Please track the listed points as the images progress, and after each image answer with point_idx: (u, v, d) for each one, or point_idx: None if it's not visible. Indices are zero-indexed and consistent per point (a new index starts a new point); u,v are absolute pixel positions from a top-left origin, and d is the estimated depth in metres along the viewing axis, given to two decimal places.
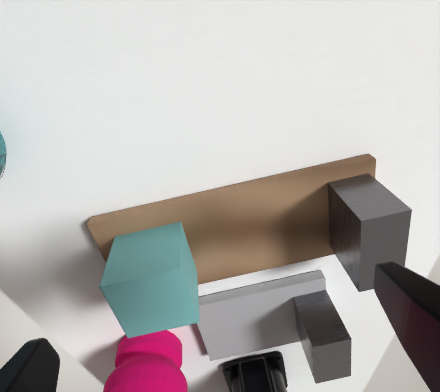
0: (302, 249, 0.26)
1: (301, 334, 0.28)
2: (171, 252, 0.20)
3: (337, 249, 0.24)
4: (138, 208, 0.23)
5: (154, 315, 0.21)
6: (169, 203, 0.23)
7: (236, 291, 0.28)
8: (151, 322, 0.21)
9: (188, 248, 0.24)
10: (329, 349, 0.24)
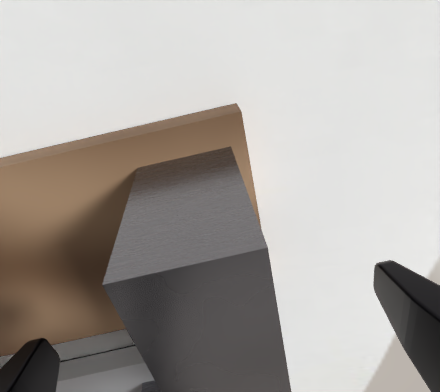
0: None
1: None
2: None
3: None
4: None
5: None
6: None
7: None
8: None
9: None
10: None
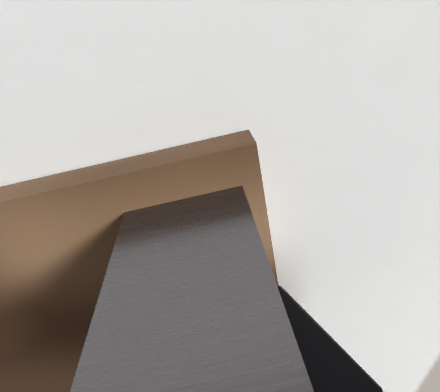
0: None
1: None
2: None
3: None
4: None
5: None
6: None
7: None
8: None
9: None
10: None
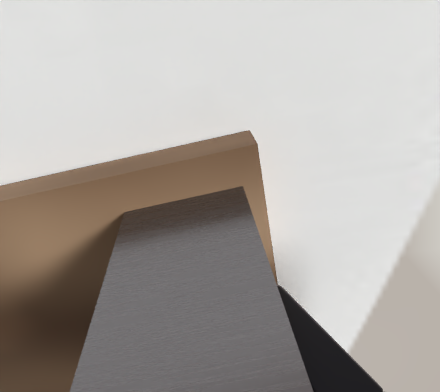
0: None
1: None
2: None
3: None
4: None
5: None
6: None
7: None
8: None
9: None
10: None
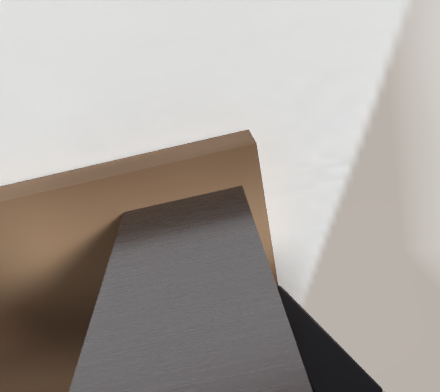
0: None
1: None
2: None
3: None
4: None
5: None
6: None
7: None
8: None
9: None
10: None
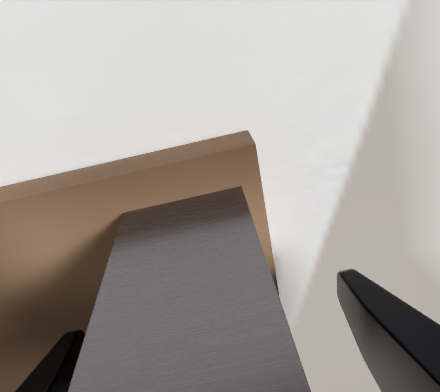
0: None
1: None
2: None
3: None
4: None
5: None
6: None
7: None
8: None
9: None
10: None
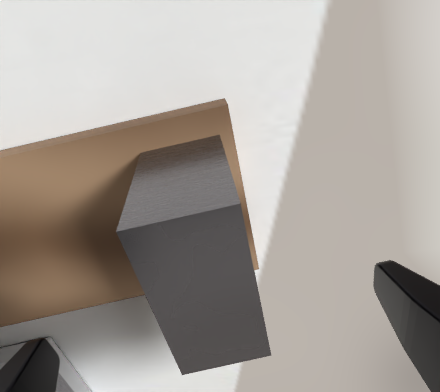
0: (133, 277, 0.15)
1: None
2: None
3: None
4: None
5: None
6: None
7: None
8: None
9: None
10: None
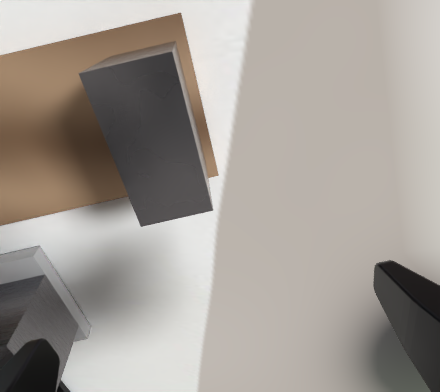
0: (109, 179, 0.17)
1: None
2: None
3: None
4: None
5: None
6: None
7: None
8: None
9: None
10: None
